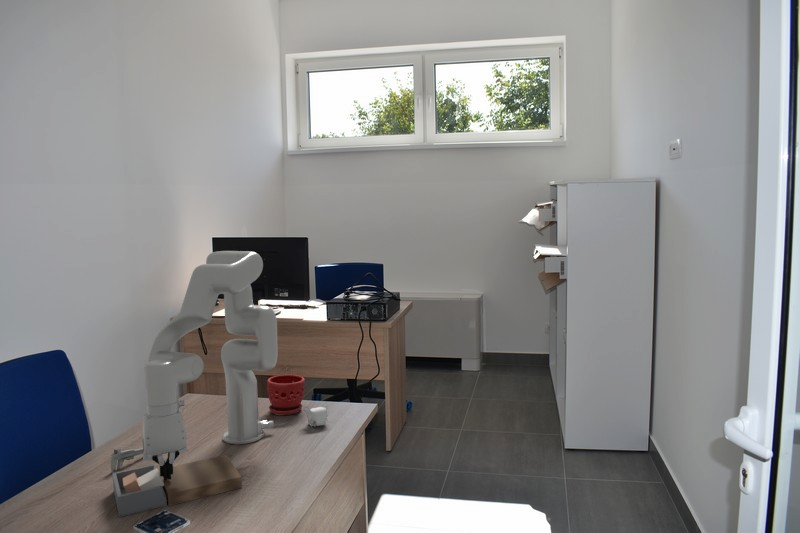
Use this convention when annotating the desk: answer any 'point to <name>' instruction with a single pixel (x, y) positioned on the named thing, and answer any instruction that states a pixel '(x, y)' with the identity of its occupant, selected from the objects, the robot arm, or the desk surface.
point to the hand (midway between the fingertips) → (166, 477)
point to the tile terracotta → (131, 483)
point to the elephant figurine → (316, 415)
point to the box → (136, 494)
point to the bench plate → (201, 479)
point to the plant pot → (285, 394)
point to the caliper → (123, 457)
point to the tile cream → (150, 480)
